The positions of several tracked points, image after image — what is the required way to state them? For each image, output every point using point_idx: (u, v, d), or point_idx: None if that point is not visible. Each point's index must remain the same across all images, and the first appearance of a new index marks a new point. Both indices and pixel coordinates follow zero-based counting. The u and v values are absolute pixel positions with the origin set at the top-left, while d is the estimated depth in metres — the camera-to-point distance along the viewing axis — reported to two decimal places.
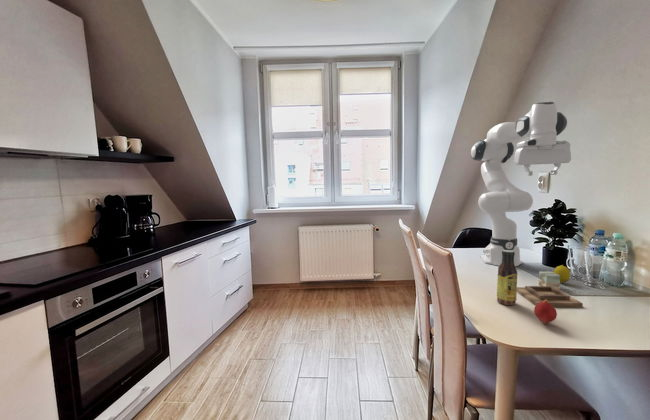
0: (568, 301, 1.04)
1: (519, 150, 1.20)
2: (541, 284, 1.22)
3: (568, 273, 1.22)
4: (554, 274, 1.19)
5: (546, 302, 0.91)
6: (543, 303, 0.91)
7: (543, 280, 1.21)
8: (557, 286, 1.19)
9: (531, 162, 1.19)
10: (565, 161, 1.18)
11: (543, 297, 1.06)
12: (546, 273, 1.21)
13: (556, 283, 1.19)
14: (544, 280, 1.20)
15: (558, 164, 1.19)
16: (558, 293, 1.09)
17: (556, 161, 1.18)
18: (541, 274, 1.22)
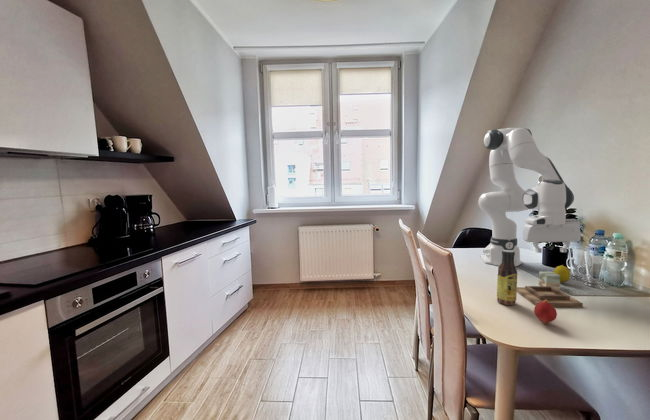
0: (568, 301, 1.04)
1: (528, 228, 1.19)
2: (541, 284, 1.22)
3: (568, 273, 1.22)
4: (554, 274, 1.19)
5: (546, 302, 0.91)
6: (543, 303, 0.91)
7: (543, 280, 1.21)
8: (557, 286, 1.19)
9: (540, 240, 1.18)
10: (575, 240, 1.16)
11: (543, 297, 1.06)
12: (546, 273, 1.21)
13: (556, 283, 1.19)
14: (544, 280, 1.20)
15: (568, 242, 1.17)
16: (558, 293, 1.09)
17: (566, 240, 1.17)
18: (541, 274, 1.22)
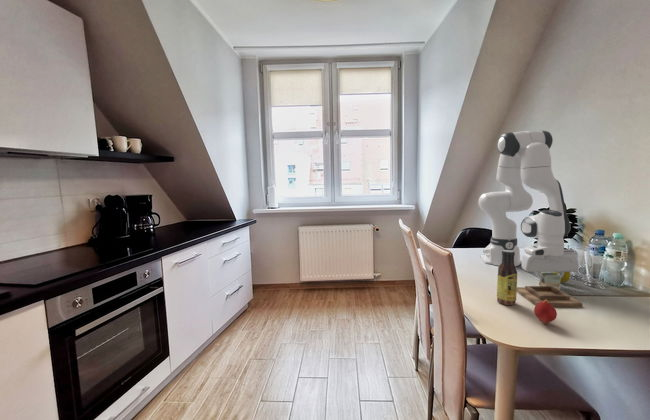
0: (568, 301, 1.04)
1: (527, 258, 1.20)
2: (541, 284, 1.22)
3: (568, 273, 1.22)
4: (554, 274, 1.19)
5: (546, 302, 0.91)
6: (543, 303, 0.91)
7: None
8: (557, 286, 1.19)
9: (539, 270, 1.20)
10: (573, 270, 1.18)
11: (543, 297, 1.06)
12: (546, 273, 1.21)
13: (556, 283, 1.19)
14: (544, 280, 1.20)
15: (562, 272, 1.19)
16: (558, 293, 1.09)
17: (564, 270, 1.18)
18: (541, 274, 1.22)
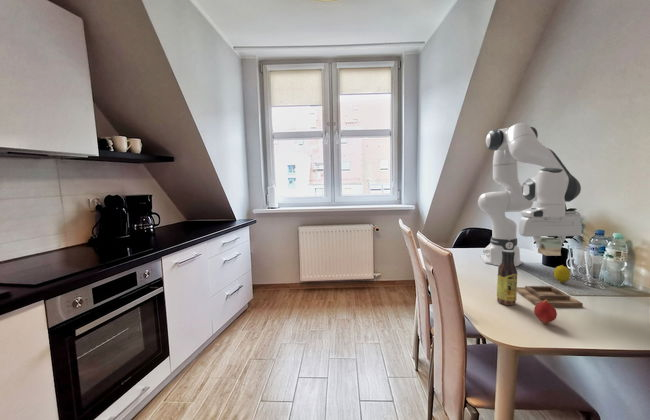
0: (568, 301, 1.04)
1: (524, 221, 1.08)
2: (540, 251, 1.10)
3: (568, 273, 1.22)
4: (555, 238, 1.07)
5: (546, 302, 0.91)
6: (543, 303, 0.91)
7: (543, 245, 1.08)
8: (558, 252, 1.06)
9: (537, 234, 1.07)
10: (575, 234, 1.06)
11: (543, 297, 1.06)
12: (546, 238, 1.09)
13: (557, 248, 1.06)
14: (544, 245, 1.08)
15: (563, 237, 1.07)
16: (558, 293, 1.09)
17: (565, 234, 1.06)
18: (540, 239, 1.10)
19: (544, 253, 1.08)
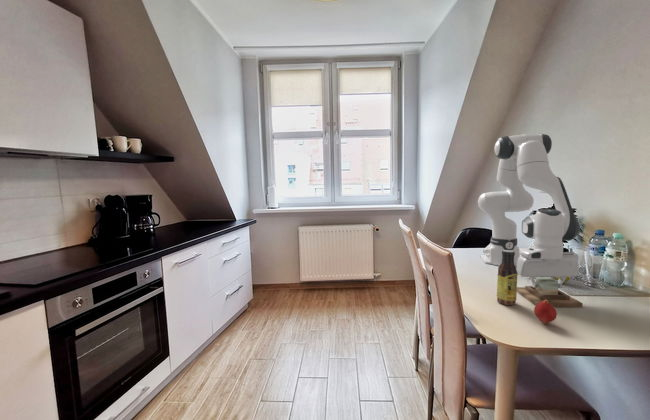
0: (568, 301, 1.04)
1: (522, 261, 1.09)
2: (538, 291, 1.11)
3: None
4: (552, 280, 1.08)
5: (546, 302, 0.91)
6: (543, 303, 0.91)
7: (540, 287, 1.10)
8: (555, 294, 1.08)
9: (535, 275, 1.09)
10: (573, 275, 1.07)
11: (543, 297, 1.06)
12: (543, 279, 1.10)
13: (554, 290, 1.08)
14: (541, 287, 1.09)
15: (563, 277, 1.08)
16: (558, 293, 1.09)
17: (563, 275, 1.07)
18: (538, 280, 1.11)
19: None
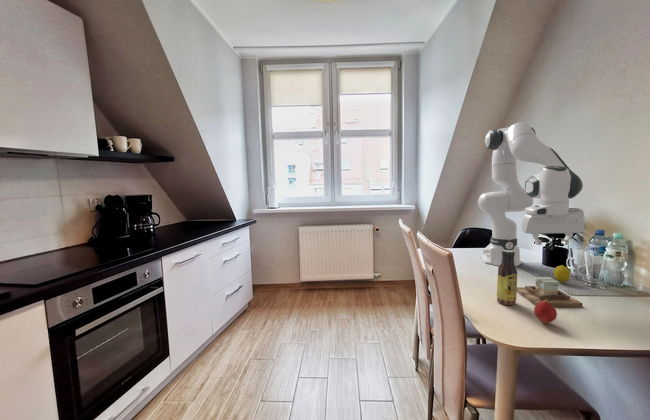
0: (568, 301, 1.04)
1: (527, 218, 1.10)
2: (538, 291, 1.11)
3: (568, 273, 1.22)
4: (552, 280, 1.08)
5: (546, 302, 0.91)
6: (543, 303, 0.91)
7: (540, 287, 1.10)
8: (555, 294, 1.08)
9: (540, 231, 1.09)
10: (578, 231, 1.08)
11: (543, 297, 1.06)
12: (543, 279, 1.10)
13: (554, 290, 1.08)
14: (541, 287, 1.09)
15: (570, 234, 1.09)
16: (558, 293, 1.09)
17: (568, 231, 1.08)
18: (538, 280, 1.11)
19: None
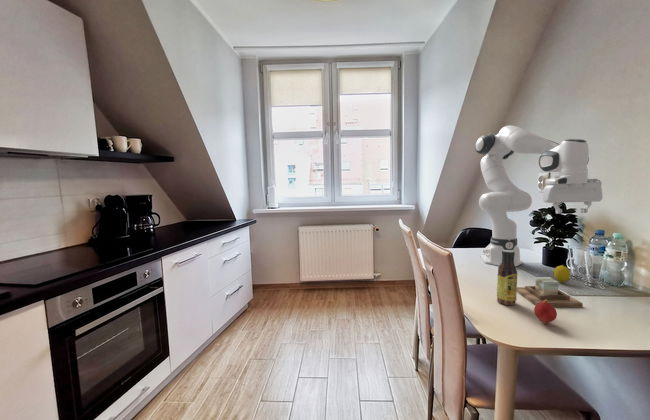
0: (568, 301, 1.04)
1: (549, 188, 1.17)
2: (538, 291, 1.11)
3: (568, 273, 1.22)
4: (552, 280, 1.08)
5: (546, 302, 0.91)
6: (543, 303, 0.91)
7: (540, 287, 1.10)
8: (555, 294, 1.08)
9: (561, 200, 1.17)
10: (596, 200, 1.15)
11: (543, 297, 1.06)
12: (543, 279, 1.10)
13: (554, 290, 1.08)
14: (541, 287, 1.09)
15: (589, 202, 1.16)
16: (558, 293, 1.09)
17: (587, 200, 1.15)
18: (538, 280, 1.11)
19: None
